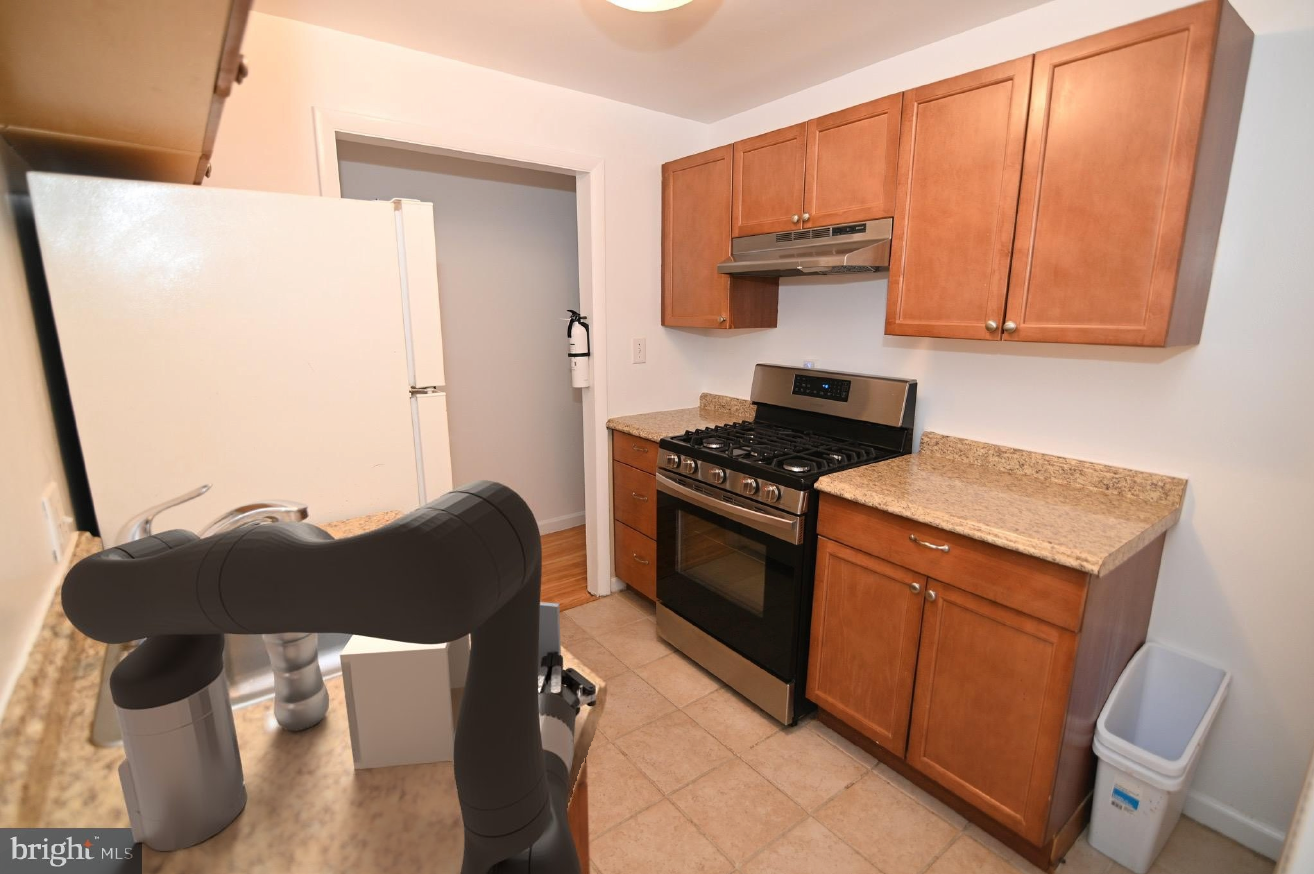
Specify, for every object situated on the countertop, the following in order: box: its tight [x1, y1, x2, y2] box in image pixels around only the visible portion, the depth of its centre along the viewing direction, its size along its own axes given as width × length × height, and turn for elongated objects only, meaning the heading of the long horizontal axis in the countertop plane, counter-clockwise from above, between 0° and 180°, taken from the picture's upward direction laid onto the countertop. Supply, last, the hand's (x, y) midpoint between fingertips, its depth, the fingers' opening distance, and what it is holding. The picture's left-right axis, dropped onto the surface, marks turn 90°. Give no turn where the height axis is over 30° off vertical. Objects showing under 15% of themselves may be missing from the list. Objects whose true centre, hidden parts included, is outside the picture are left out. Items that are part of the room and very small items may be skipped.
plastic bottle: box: [261, 633, 330, 732], centre depth 80 cm, size 6×7×20 cm
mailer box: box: [339, 634, 471, 770], centre depth 79 cm, size 12×14×16 cm
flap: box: [469, 601, 562, 684], centre depth 86 cm, size 1×14×15 cm, turn 80°
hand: (553, 657), depth 84 cm, fingers closed
